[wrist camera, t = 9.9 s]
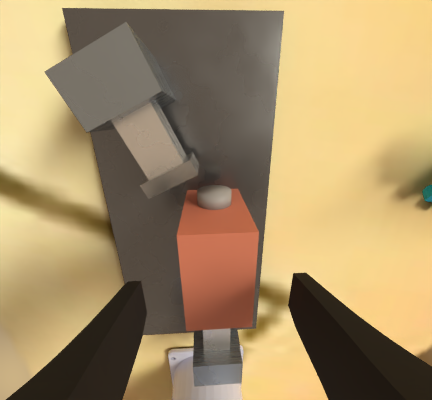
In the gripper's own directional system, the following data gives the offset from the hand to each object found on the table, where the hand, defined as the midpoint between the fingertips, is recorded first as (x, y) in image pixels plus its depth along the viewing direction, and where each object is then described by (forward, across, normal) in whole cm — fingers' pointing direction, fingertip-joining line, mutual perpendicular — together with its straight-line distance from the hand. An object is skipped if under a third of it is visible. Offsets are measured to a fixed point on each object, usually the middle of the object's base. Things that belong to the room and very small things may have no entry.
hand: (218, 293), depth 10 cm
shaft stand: (+7, +2, -1) cm, 8 cm away
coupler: (+6, 0, 0) cm, 6 cm away
